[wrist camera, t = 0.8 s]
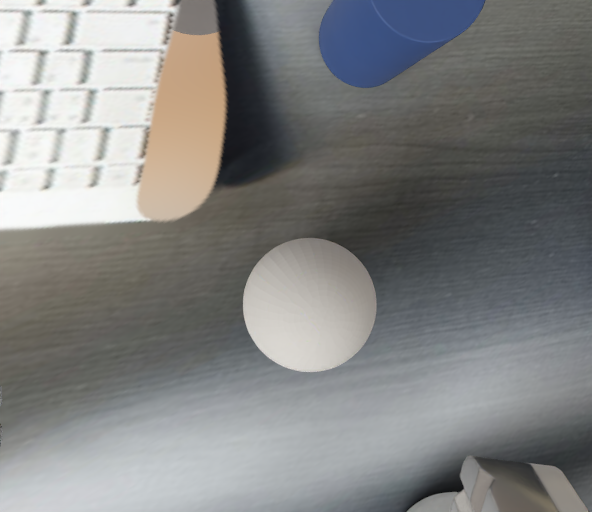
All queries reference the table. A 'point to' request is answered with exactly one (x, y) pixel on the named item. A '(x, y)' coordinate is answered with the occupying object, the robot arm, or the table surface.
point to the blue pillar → (388, 35)
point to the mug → (435, 503)
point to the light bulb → (309, 304)
